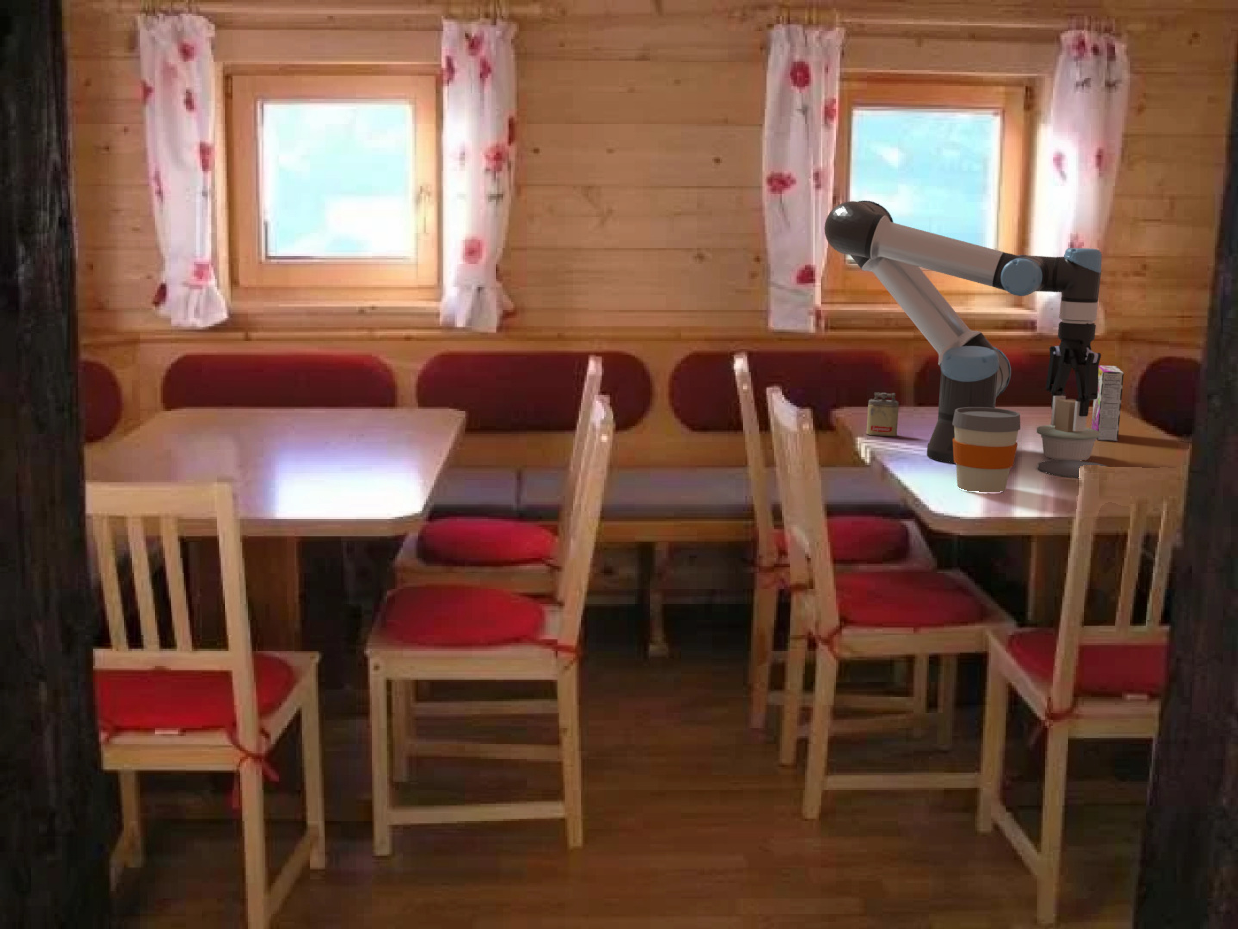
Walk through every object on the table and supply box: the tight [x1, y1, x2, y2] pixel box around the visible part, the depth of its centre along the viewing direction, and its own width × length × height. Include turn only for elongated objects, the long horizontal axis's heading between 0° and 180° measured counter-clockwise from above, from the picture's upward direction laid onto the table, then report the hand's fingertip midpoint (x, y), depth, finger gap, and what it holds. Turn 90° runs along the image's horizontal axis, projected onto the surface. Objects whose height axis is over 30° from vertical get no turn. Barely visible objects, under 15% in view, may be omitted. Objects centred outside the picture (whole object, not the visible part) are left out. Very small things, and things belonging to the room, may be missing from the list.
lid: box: [1036, 398, 1100, 440], centre depth 291 cm, size 13×13×7 cm
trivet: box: [1037, 459, 1107, 479], centre depth 278 cm, size 15×15×1 cm
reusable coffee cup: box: [952, 407, 1021, 492], centre depth 258 cm, size 13×13×15 cm
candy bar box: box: [1090, 364, 1125, 442], centre depth 317 cm, size 11×5×16 cm, turn 168°
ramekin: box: [1040, 434, 1097, 461], centre depth 292 cm, size 11×11×5 cm
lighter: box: [865, 392, 900, 437], centre depth 314 cm, size 7×4×10 cm, turn 76°
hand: (1067, 427), depth 291 cm, fingers open, 6 cm apart
